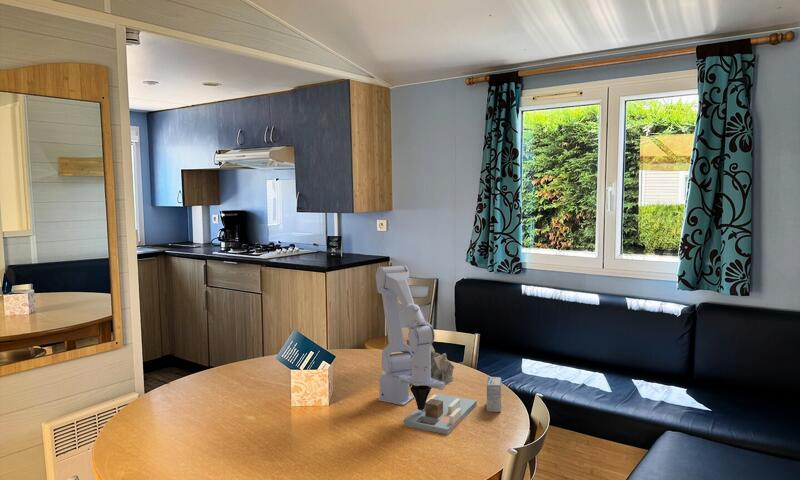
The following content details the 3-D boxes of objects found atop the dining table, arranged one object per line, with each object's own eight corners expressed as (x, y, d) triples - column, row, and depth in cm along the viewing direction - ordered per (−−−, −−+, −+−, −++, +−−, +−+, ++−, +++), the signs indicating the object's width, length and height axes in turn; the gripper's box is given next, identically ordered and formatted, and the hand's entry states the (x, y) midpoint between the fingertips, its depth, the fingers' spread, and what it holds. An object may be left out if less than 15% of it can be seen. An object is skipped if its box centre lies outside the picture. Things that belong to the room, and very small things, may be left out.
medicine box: (500, 412, 172) (501, 385, 171) (486, 411, 173) (486, 384, 172) (501, 403, 180) (501, 377, 179) (487, 402, 181) (487, 376, 180)
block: (425, 416, 166) (425, 403, 166) (430, 411, 169) (430, 398, 169) (437, 418, 164) (437, 405, 164) (443, 413, 168) (443, 400, 167)
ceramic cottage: (396, 377, 204) (399, 338, 202) (430, 370, 214) (433, 332, 212) (424, 392, 192) (427, 350, 190) (458, 384, 202) (462, 343, 200)
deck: (403, 425, 163) (403, 412, 163) (436, 398, 185) (436, 386, 184) (447, 434, 157) (447, 421, 157) (476, 405, 178) (476, 393, 178)
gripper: (393, 365, 167) (393, 409, 168) (438, 372, 160) (438, 418, 162) (404, 359, 173) (404, 401, 175) (447, 365, 167) (447, 409, 168)
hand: (421, 408), depth 168 cm, fingers closed
